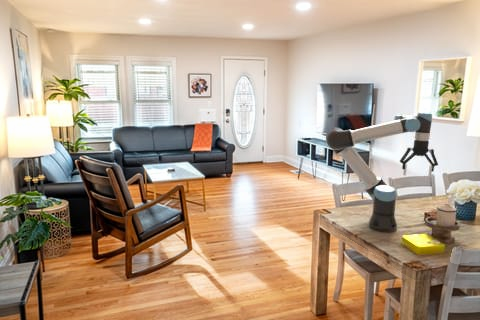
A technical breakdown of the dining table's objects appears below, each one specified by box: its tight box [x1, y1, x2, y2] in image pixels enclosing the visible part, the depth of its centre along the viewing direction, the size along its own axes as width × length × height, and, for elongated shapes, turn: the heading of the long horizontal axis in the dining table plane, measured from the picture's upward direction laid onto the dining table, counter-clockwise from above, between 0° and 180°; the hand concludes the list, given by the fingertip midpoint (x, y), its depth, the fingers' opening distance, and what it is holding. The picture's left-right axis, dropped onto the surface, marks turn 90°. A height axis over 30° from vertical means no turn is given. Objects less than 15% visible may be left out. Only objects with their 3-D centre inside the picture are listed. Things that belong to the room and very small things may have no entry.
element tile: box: [401, 233, 446, 256], centre depth 187 cm, size 15×15×5 cm
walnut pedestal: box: [424, 215, 461, 244], centre depth 198 cm, size 16×16×9 cm
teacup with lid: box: [429, 202, 458, 227], centre depth 197 cm, size 12×9×12 cm
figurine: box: [447, 193, 455, 207], centre depth 238 cm, size 7×9×15 cm
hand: (416, 176), depth 218 cm, fingers open, 13 cm apart
